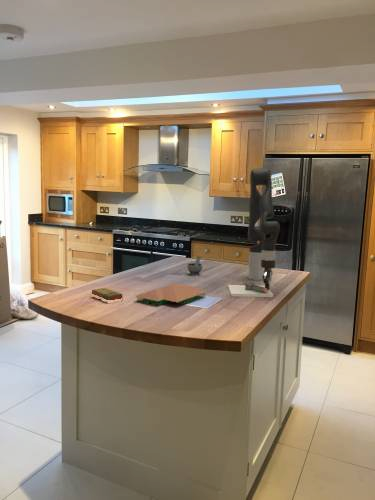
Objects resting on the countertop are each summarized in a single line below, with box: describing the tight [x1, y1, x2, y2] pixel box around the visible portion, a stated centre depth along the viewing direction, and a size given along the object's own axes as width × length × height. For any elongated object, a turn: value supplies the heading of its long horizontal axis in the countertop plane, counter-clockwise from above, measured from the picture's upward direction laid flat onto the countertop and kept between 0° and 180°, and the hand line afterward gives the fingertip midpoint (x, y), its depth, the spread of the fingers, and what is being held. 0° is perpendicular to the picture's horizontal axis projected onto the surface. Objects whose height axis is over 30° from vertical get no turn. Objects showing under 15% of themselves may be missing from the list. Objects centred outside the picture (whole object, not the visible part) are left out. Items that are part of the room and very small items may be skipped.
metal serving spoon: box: [244, 282, 267, 293], centre depth 231 cm, size 14×5×3 cm, turn 43°
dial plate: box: [227, 284, 274, 298], centre depth 235 cm, size 20×22×2 cm
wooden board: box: [135, 282, 207, 306], centre depth 218 cm, size 23×33×8 cm
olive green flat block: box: [91, 287, 123, 300], centre depth 215 cm, size 8×16×4 cm, turn 43°
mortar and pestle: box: [186, 255, 203, 276], centre depth 276 cm, size 11×9×12 cm
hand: (267, 290), depth 230 cm, fingers closed
